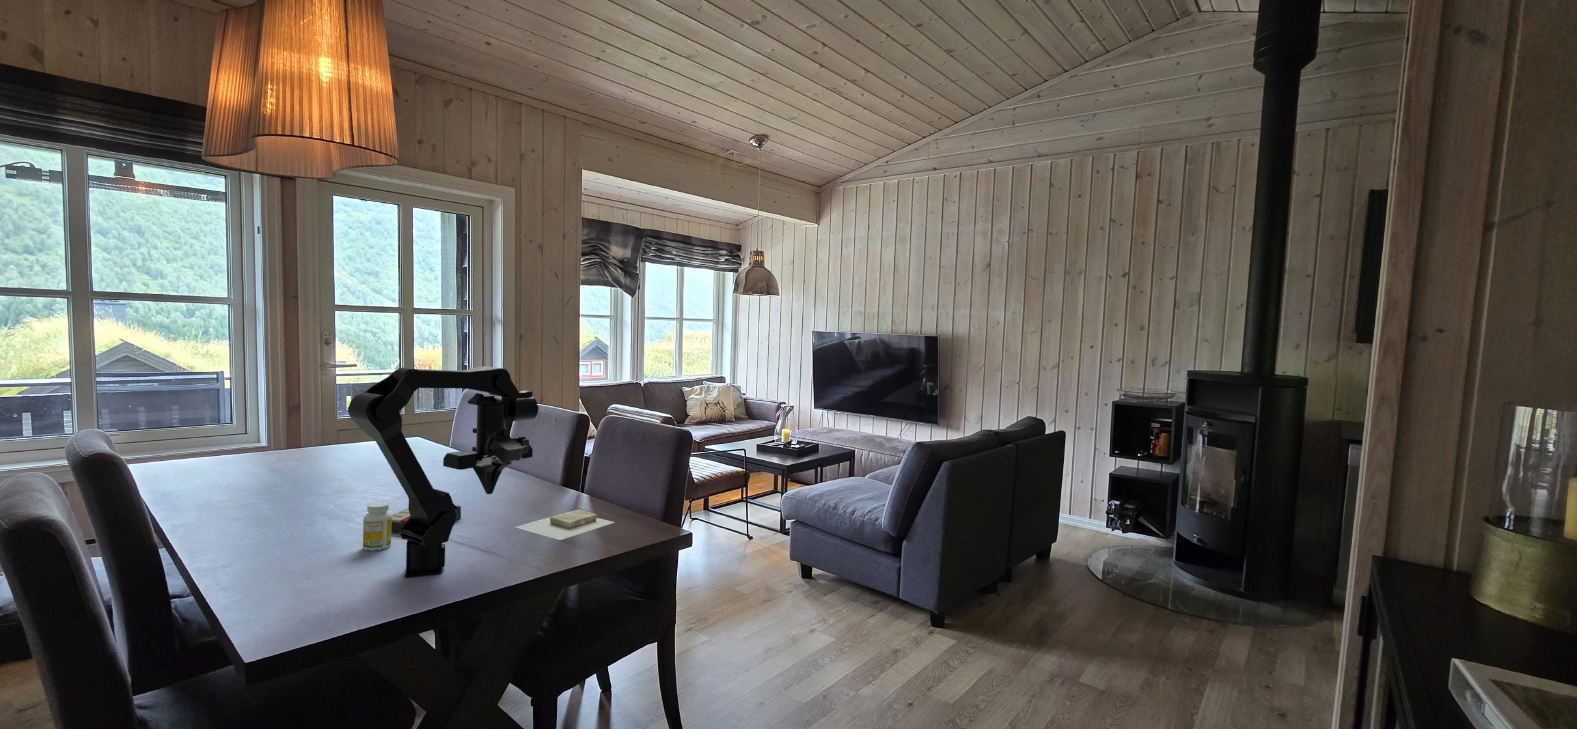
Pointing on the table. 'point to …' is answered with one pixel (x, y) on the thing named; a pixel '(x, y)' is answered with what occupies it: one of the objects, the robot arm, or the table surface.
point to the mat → (561, 528)
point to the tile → (573, 519)
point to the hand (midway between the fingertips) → (489, 493)
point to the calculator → (404, 515)
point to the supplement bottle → (377, 527)
